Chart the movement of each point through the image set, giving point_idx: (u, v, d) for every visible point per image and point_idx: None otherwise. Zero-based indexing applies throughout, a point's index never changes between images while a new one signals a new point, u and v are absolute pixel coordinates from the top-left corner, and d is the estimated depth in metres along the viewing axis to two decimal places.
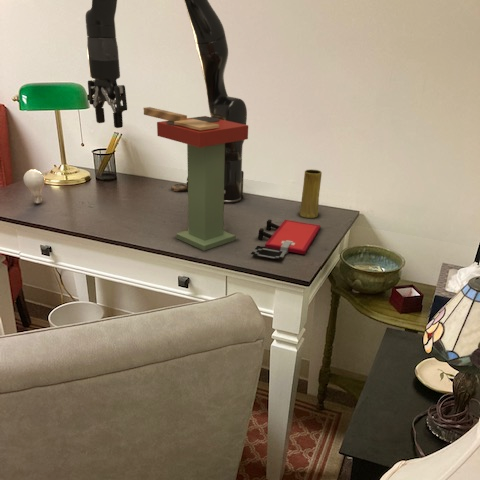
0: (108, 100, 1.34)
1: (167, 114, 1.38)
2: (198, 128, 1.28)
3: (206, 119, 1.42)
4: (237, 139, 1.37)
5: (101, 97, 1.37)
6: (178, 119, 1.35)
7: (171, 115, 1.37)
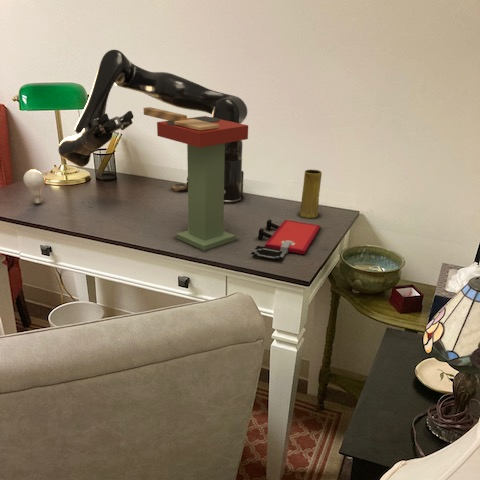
0: (102, 130, 1.58)
1: (167, 114, 1.38)
2: (198, 128, 1.28)
3: (206, 119, 1.42)
4: (237, 139, 1.37)
5: (112, 127, 1.60)
6: (178, 119, 1.35)
7: (171, 115, 1.37)
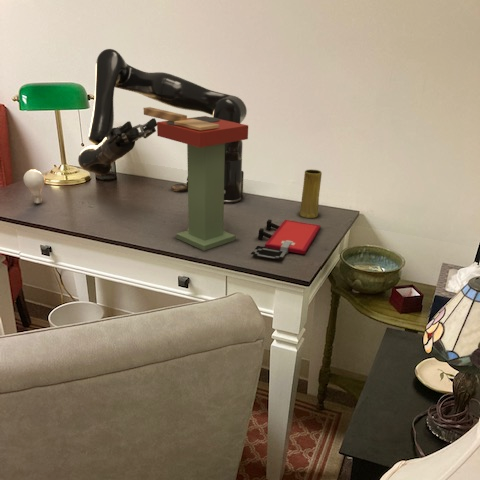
0: (124, 139, 1.51)
1: (167, 114, 1.38)
2: (198, 128, 1.28)
3: (206, 119, 1.42)
4: (237, 139, 1.37)
5: (135, 135, 1.54)
6: (178, 119, 1.35)
7: (171, 115, 1.37)
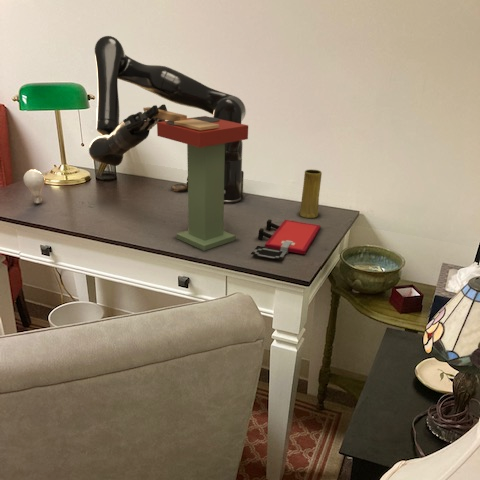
0: (145, 125, 1.45)
1: (167, 114, 1.38)
2: (198, 128, 1.28)
3: (206, 119, 1.42)
4: (237, 139, 1.37)
5: (146, 124, 1.47)
6: (178, 119, 1.35)
7: (171, 115, 1.37)
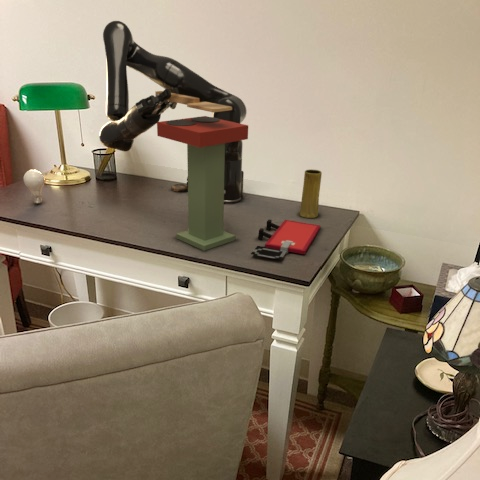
0: (157, 109, 1.45)
1: (179, 97, 1.38)
2: (211, 110, 1.29)
3: (206, 119, 1.42)
4: (237, 139, 1.37)
5: None
6: (191, 102, 1.36)
7: (184, 98, 1.37)
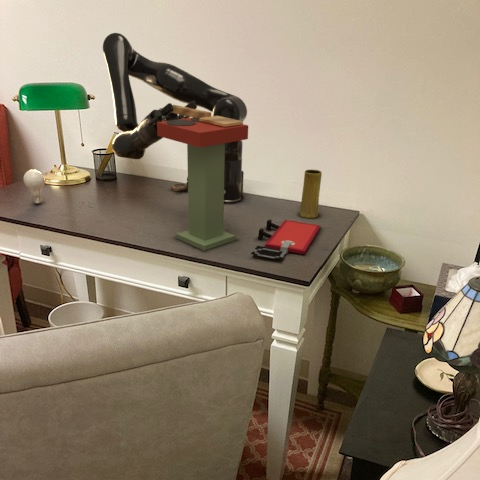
0: None
1: (192, 111, 1.43)
2: (223, 124, 1.33)
3: None
4: (237, 139, 1.37)
5: (174, 118, 1.52)
6: (203, 116, 1.41)
7: (196, 112, 1.42)
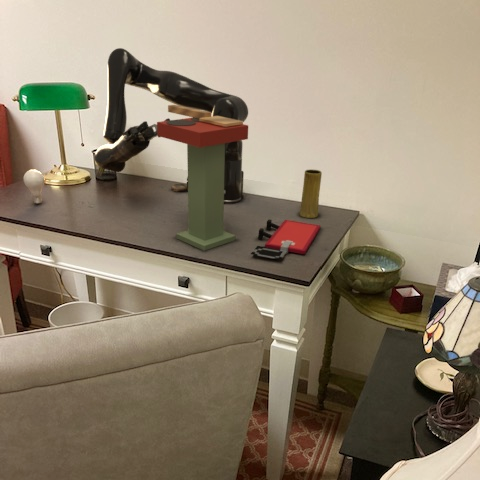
0: (140, 138, 1.60)
1: (192, 111, 1.43)
2: (223, 124, 1.33)
3: None
4: (237, 139, 1.37)
5: (150, 134, 1.63)
6: (203, 116, 1.41)
7: (196, 112, 1.42)
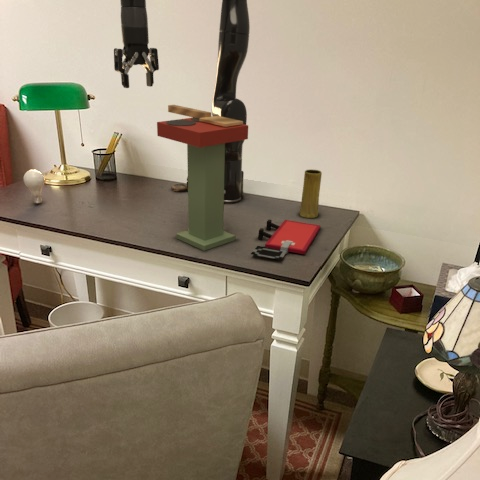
0: None
1: (192, 111, 1.43)
2: (223, 124, 1.33)
3: None
4: (237, 139, 1.37)
5: None
6: (203, 116, 1.41)
7: (196, 112, 1.42)
